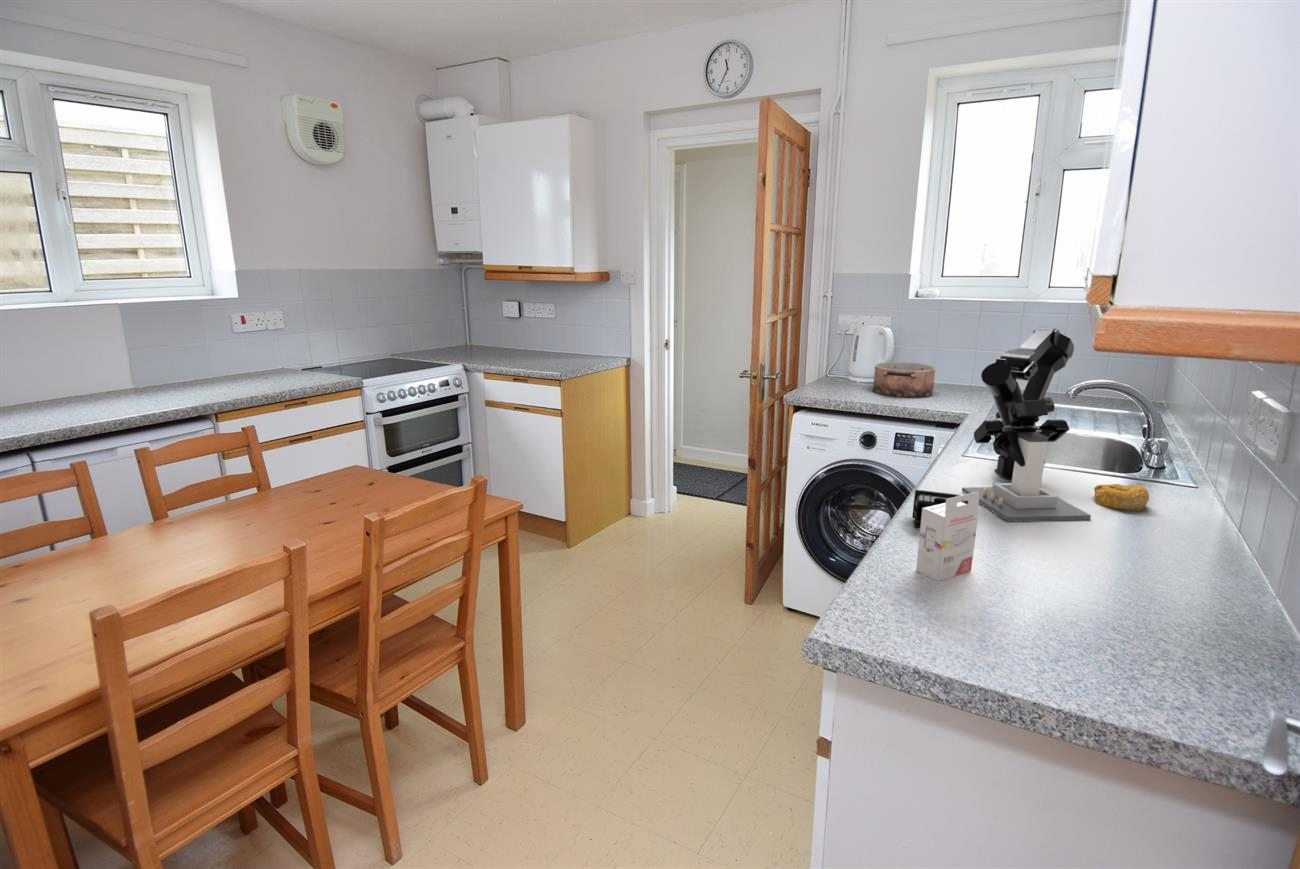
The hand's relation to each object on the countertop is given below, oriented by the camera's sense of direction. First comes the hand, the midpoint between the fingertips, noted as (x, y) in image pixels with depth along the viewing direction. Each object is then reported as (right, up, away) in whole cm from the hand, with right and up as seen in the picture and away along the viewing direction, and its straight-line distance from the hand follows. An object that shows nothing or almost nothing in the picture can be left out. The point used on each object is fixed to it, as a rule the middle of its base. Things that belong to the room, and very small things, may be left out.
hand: (1033, 465), depth 143 cm
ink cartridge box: (-31, -17, -27) cm, 45 cm away
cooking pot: (+19, +23, +124) cm, 128 cm away
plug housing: (0, -6, +3) cm, 7 cm away
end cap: (-23, -12, -7) cm, 27 cm away
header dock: (0, -9, +4) cm, 10 cm away
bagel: (+22, -9, +5) cm, 24 cm away
